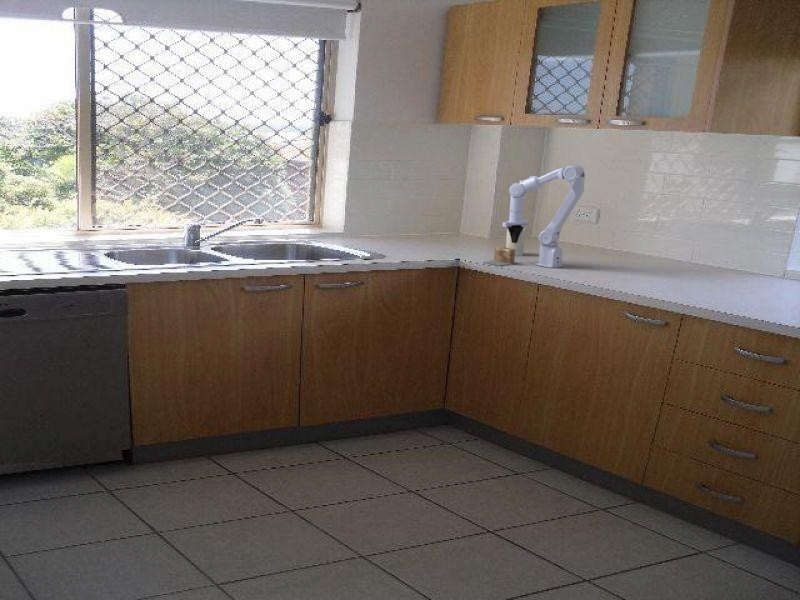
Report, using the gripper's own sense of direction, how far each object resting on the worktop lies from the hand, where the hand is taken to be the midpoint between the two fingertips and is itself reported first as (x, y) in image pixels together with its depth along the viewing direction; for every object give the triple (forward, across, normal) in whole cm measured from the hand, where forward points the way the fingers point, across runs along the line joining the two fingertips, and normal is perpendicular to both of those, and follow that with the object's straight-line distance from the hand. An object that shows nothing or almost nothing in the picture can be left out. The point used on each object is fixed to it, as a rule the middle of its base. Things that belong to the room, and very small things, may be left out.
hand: (514, 242), depth 367 cm
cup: (+9, -16, -14) cm, 23 cm away
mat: (+8, +8, 0) cm, 12 cm away
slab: (+8, +6, 0) cm, 10 cm away
